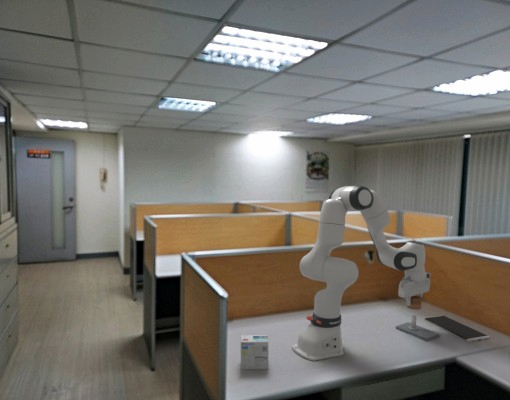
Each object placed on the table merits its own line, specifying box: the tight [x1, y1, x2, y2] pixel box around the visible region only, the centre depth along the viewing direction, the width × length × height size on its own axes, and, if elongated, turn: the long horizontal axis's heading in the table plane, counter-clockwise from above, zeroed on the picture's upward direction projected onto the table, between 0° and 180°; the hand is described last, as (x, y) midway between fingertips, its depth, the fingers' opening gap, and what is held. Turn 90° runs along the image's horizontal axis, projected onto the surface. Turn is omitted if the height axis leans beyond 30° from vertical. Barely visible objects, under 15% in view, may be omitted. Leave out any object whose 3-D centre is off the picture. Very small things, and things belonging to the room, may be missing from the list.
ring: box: [406, 295, 423, 311], centre depth 169 cm, size 6×6×5 cm
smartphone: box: [423, 314, 491, 343], centre depth 173 cm, size 13×27×2 cm, turn 17°
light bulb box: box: [240, 334, 269, 370], centre depth 136 cm, size 11×7×11 cm, turn 92°
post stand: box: [395, 314, 440, 342], centre depth 168 cm, size 10×16×7 cm, turn 33°
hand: (413, 303), depth 169 cm, fingers closed on ring, 6 cm apart
